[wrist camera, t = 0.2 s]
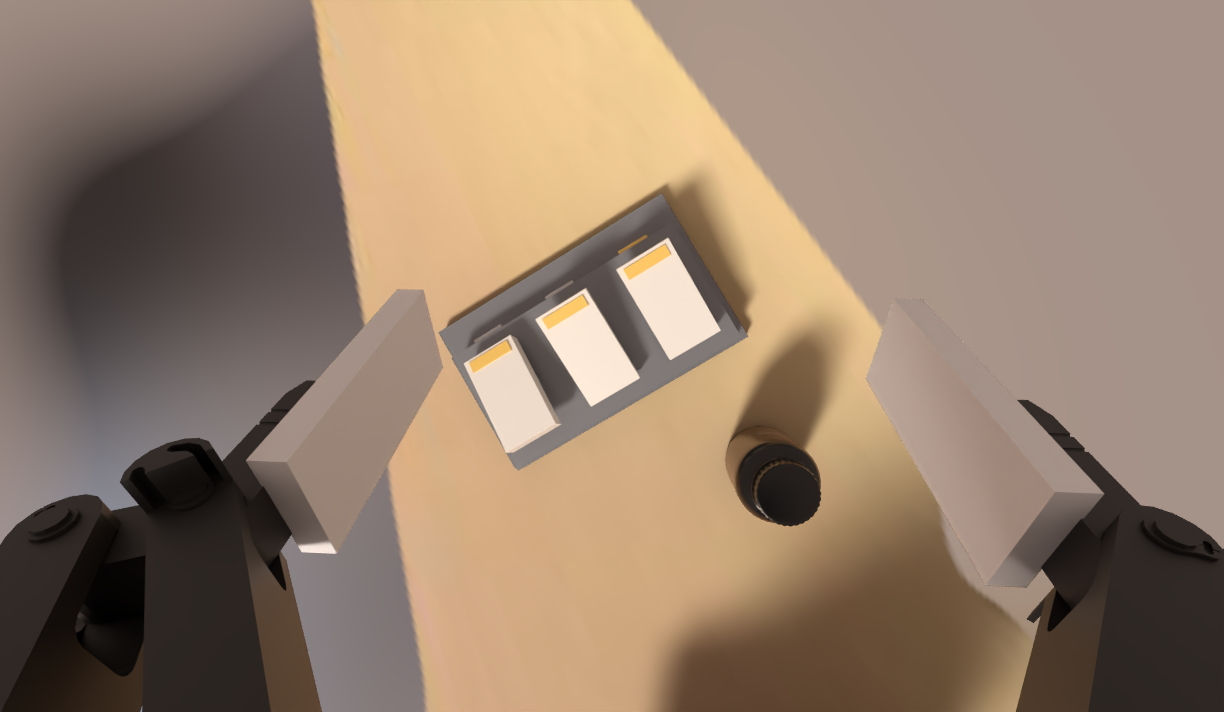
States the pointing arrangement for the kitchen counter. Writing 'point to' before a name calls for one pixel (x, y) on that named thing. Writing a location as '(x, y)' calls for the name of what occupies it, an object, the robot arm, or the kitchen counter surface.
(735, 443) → the supplement bottle
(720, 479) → the kitchen counter surface
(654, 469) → the kitchen counter surface
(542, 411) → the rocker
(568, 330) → the rocker
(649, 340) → the switch unit
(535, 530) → the kitchen counter surface
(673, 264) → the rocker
